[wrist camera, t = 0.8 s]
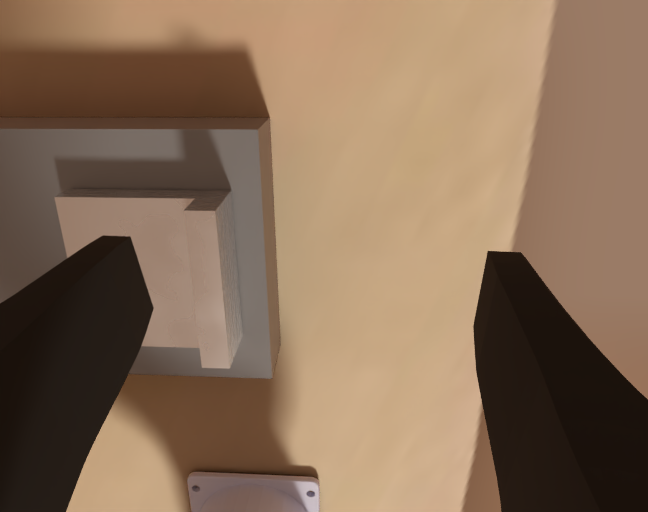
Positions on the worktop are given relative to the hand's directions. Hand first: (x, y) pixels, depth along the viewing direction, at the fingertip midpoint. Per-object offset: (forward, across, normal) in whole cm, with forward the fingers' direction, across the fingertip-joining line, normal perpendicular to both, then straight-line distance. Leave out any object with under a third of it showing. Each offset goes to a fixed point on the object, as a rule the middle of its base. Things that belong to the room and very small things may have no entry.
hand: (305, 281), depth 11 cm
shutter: (+9, +8, +8) cm, 15 cm away
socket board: (+12, +11, +8) cm, 18 cm away
